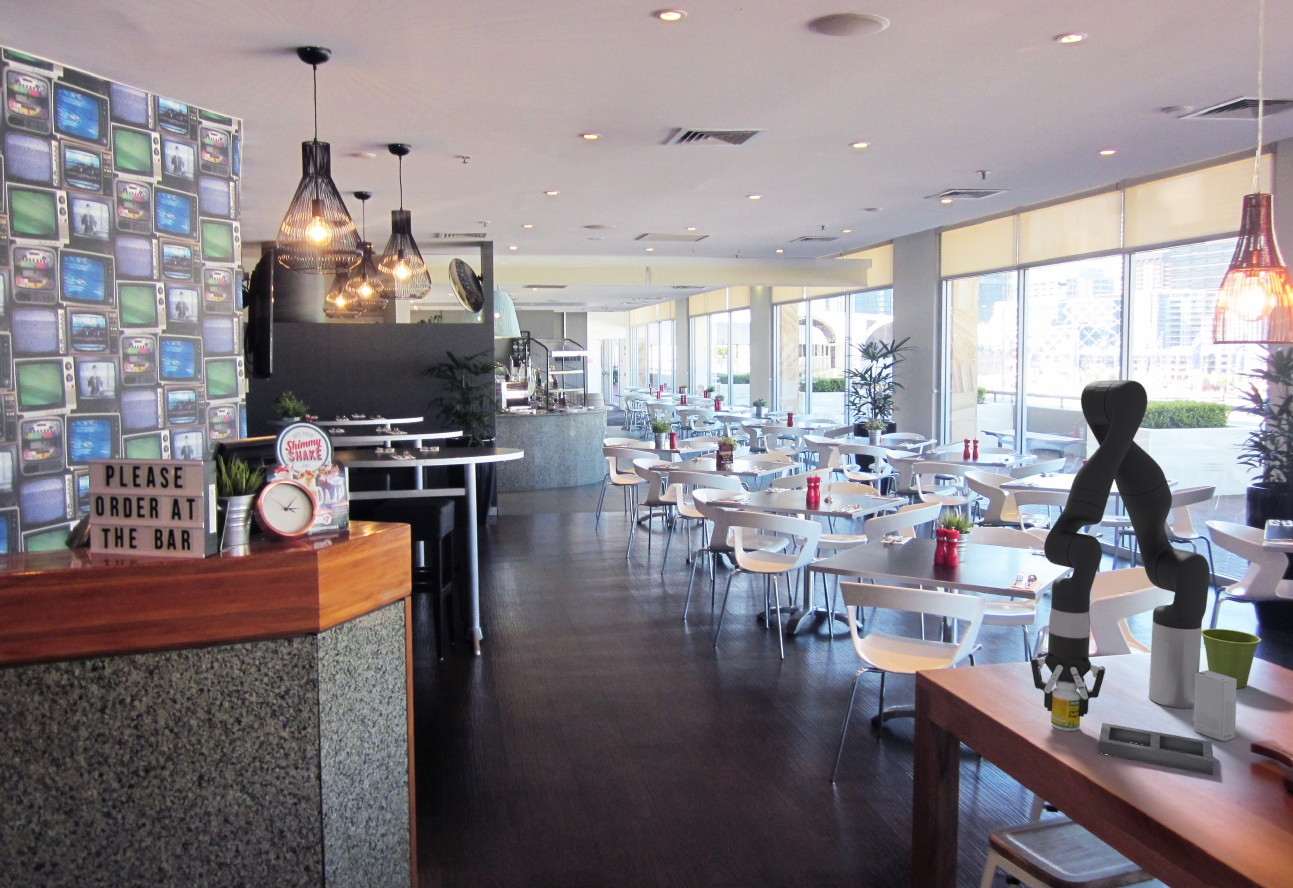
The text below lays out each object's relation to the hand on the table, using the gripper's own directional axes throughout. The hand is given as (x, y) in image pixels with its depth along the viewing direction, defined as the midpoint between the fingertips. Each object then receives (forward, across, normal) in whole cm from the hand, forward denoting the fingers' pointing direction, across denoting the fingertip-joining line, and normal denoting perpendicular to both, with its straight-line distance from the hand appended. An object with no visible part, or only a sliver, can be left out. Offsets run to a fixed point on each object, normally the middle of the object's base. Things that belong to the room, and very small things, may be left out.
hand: (1065, 712), depth 188 cm
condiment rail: (+3, -16, +6) cm, 17 cm away
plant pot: (+3, -30, -46) cm, 55 cm away
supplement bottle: (+3, 0, 0) cm, 3 cm away
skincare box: (+3, -26, -10) cm, 28 cm away
